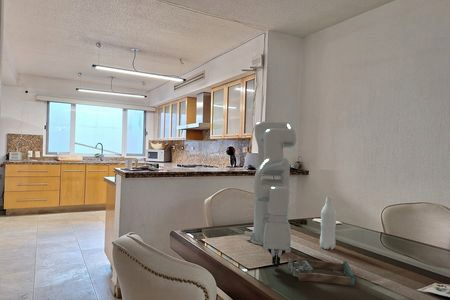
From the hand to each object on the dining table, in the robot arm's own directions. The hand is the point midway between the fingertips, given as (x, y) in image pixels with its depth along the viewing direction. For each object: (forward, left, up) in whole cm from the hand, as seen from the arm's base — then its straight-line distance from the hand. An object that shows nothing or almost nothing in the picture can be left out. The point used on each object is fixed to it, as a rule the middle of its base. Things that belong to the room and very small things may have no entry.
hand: (275, 265), depth 117 cm
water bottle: (+23, +34, -1) cm, 41 cm away
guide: (+18, 0, -1) cm, 18 cm away
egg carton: (+9, 0, -2) cm, 9 cm away
